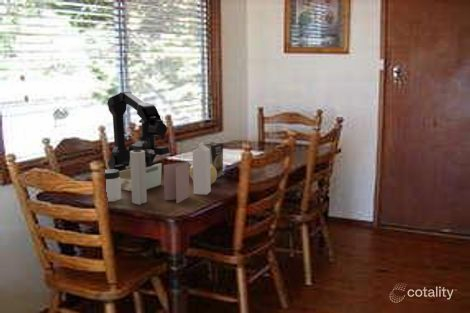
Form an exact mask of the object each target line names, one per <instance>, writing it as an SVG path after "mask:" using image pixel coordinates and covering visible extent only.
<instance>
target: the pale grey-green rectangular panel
mask: <svg viewBox="0 0 470 313" xmlns="http://www.w3.org/2000/svg"><path fill="white" fill-rule="evenodd" d="M145 167H146V190H149V189H153V188H155V187H158V186H161V185H162V167H163V163H161V162H160V163H155V164H152V165H151V166H149V167H147V166H145Z"/></svg>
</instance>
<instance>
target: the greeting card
mask: <svg viewBox="0 0 470 313" xmlns="http://www.w3.org/2000/svg"><path fill="white" fill-rule="evenodd" d="M163 184H164V188H163V189H164V201H172V200H176V204H178V203H180V202H183V201H184V200H186V199H188V198H190V166H189V161H186V162H185V161H184V162H178V163H170V164H164V165H163Z"/></svg>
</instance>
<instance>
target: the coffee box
mask: <svg viewBox="0 0 470 313" xmlns="http://www.w3.org/2000/svg"><path fill="white" fill-rule="evenodd" d="M203 145H204V146H206V147H207V148H209V149H210V163H211V164H212V165H213V166H214V167H215V168H216V171H217V178H220V177H222V176H221V175H223V176H224V143H222V142H209V143H206V144H203Z"/></svg>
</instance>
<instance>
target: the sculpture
mask: <svg viewBox="0 0 470 313" xmlns="http://www.w3.org/2000/svg"><path fill="white" fill-rule="evenodd" d="M189 177H191V179H192V180H193V164H191V165H190V166H189ZM217 178H218V177H217V171H216V168H215V167H214V166H213V165H212V164H211V163H210V182H211V185H213V184H214V183H215V182H216V181H217Z"/></svg>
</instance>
